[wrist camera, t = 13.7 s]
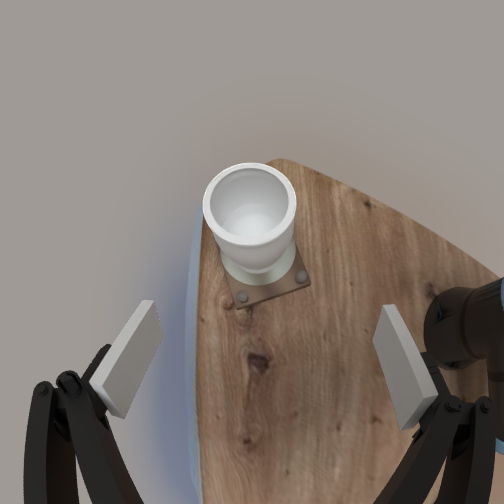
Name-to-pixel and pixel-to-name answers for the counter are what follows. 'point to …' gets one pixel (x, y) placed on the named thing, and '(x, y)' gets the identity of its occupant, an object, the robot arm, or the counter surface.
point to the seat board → (266, 278)
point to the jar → (251, 215)
